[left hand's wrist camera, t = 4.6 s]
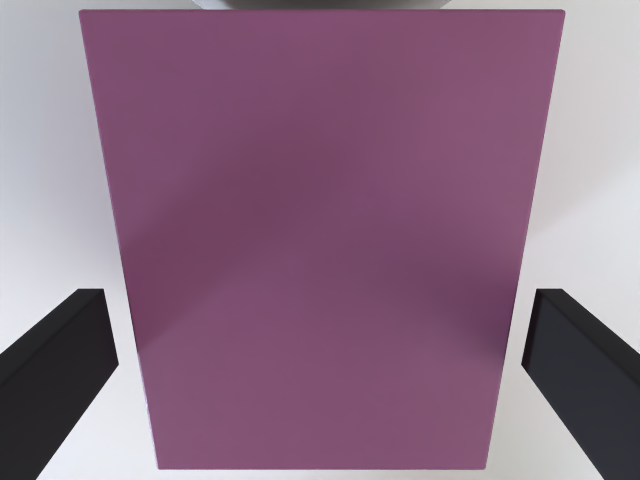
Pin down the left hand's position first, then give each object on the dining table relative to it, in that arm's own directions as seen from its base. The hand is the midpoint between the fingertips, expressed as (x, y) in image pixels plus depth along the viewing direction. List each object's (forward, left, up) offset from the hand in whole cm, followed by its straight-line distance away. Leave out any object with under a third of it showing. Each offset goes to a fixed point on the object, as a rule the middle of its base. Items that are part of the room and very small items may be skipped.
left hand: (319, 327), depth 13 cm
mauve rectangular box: (+1, -1, -10) cm, 10 cm away
